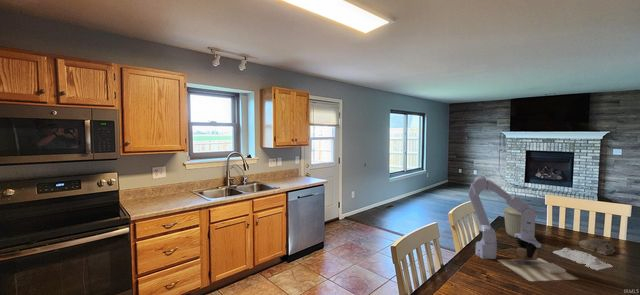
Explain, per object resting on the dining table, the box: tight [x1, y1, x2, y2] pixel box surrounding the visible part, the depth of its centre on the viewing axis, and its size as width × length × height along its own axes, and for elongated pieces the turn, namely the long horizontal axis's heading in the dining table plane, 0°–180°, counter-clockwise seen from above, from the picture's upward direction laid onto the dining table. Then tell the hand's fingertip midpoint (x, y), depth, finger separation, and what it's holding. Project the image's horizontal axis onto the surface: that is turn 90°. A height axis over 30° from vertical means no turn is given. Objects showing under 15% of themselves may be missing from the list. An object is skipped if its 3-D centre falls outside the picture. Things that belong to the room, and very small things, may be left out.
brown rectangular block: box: [516, 247, 538, 260], centre depth 142 cm, size 8×4×5 cm, turn 94°
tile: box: [537, 262, 567, 274], centre depth 135 cm, size 2×7×8 cm
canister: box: [502, 206, 538, 239], centre depth 181 cm, size 18×18×21 cm
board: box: [497, 257, 579, 282], centre depth 136 cm, size 24×21×1 cm
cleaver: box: [544, 230, 571, 240], centre depth 189 cm, size 29×1×10 cm
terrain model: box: [552, 247, 614, 271], centre depth 149 cm, size 17×23×5 cm
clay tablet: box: [579, 237, 616, 256], centre depth 162 cm, size 14×5×20 cm
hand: (526, 255), depth 142 cm, fingers closed on brown rectangular block, 3 cm apart
